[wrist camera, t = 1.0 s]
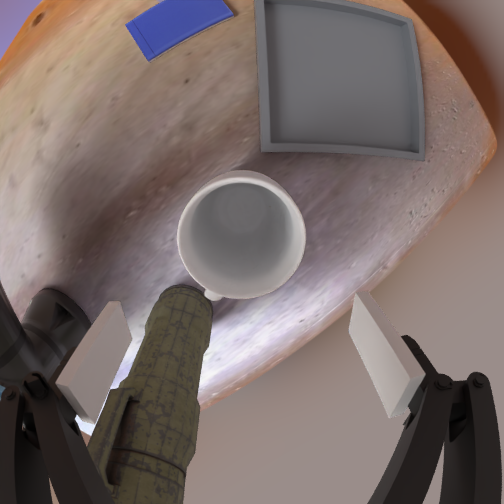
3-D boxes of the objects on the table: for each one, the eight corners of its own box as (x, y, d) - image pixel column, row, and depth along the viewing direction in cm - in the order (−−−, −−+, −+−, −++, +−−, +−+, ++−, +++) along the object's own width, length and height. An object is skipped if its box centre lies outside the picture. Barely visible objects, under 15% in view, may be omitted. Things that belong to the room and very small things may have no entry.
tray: (260, 151, 32) (261, 152, 29) (253, 1, 24) (254, -9, 21) (412, 159, 32) (424, 161, 30) (401, 25, 24) (411, 19, 21)
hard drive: (204, -21, 21) (124, 24, 23) (234, 14, 24) (147, 60, 26) (206, -16, 22) (128, 27, 24) (234, 18, 25) (151, 64, 27)
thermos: (188, 265, 37) (103, 547, 5) (228, 327, 42) (220, 566, 9) (140, 288, 39) (35, 512, 6) (181, 344, 43) (140, 553, 10)
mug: (253, 282, 39) (258, 343, 27) (179, 255, 37) (152, 308, 25) (298, 184, 34) (329, 208, 22) (217, 151, 32) (201, 154, 20)
